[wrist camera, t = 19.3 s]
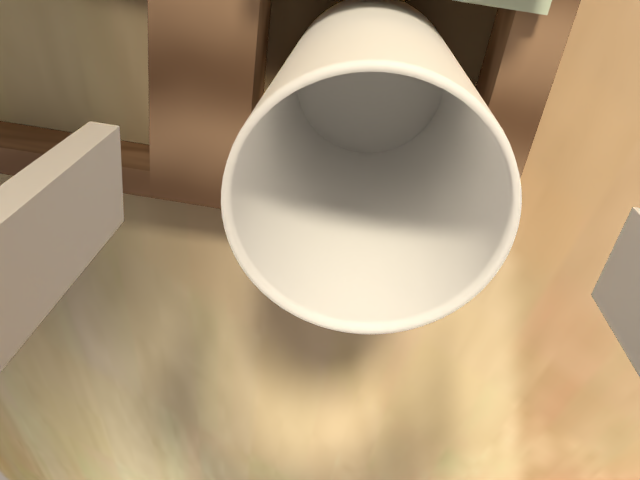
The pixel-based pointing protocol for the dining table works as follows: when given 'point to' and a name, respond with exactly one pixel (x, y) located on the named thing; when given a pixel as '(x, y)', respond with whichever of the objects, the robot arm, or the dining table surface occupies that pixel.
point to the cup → (371, 177)
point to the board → (248, 86)
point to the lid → (516, 5)
